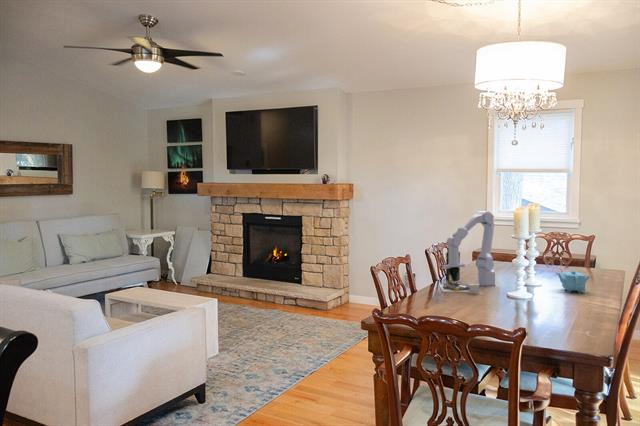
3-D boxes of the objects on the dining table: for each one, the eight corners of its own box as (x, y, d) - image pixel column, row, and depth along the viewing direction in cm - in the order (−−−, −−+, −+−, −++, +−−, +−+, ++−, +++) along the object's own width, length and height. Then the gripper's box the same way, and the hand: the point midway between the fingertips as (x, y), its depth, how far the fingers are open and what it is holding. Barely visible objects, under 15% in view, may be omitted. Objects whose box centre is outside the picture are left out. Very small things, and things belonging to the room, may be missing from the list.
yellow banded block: (477, 292, 288) (478, 283, 288) (479, 294, 285) (479, 284, 285) (468, 292, 288) (468, 283, 288) (469, 294, 285) (469, 284, 285)
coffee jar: (456, 281, 322) (456, 251, 321) (444, 280, 326) (444, 251, 325) (461, 278, 330) (461, 249, 329) (449, 277, 334) (449, 249, 333)
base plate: (471, 285, 308) (471, 284, 308) (477, 292, 289) (477, 291, 289) (438, 285, 310) (438, 284, 310) (442, 292, 291) (442, 291, 291)
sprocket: (452, 283, 311) (452, 273, 311) (478, 287, 298) (478, 276, 298) (436, 287, 300) (436, 276, 300) (462, 291, 287) (462, 280, 287)
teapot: (593, 294, 280) (594, 273, 279) (558, 293, 283) (558, 273, 283) (585, 288, 295) (585, 268, 294) (551, 287, 299) (551, 268, 298)
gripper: (459, 255, 309) (459, 277, 309) (439, 257, 303) (439, 280, 303) (467, 256, 302) (467, 279, 303) (446, 258, 296) (447, 282, 297)
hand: (453, 280), depth 303 cm, fingers closed
